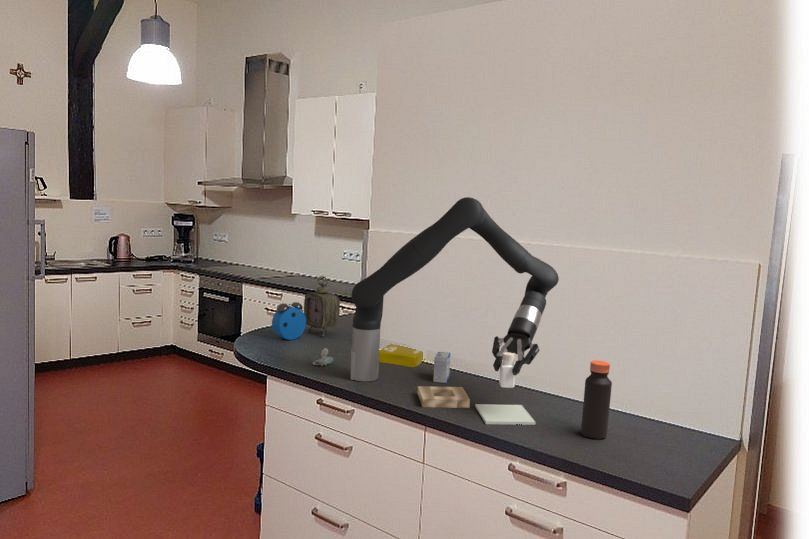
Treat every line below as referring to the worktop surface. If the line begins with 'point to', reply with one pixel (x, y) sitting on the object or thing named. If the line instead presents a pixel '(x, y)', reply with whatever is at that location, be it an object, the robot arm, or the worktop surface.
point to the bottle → (596, 401)
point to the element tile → (400, 355)
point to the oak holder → (443, 397)
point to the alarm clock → (289, 321)
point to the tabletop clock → (321, 308)
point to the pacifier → (323, 358)
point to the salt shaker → (507, 371)
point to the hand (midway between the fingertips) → (504, 371)
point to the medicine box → (441, 367)
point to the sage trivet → (504, 414)
